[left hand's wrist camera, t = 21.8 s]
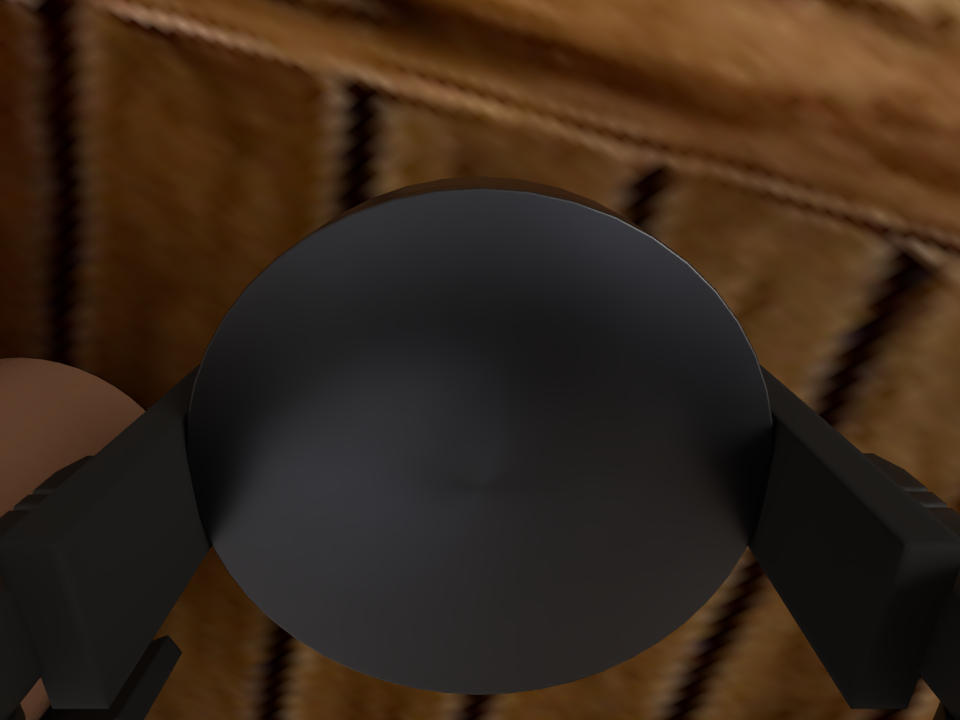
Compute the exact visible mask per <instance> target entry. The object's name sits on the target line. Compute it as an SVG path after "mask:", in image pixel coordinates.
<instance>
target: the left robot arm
mask: <svg viewBox="0 0 960 720" xmlns="http://www.w3.org/2000/svg"><path fill="white" fill-rule="evenodd" d="M200 365H201V364H200ZM200 365H198V366H197V367H196V368H195V369H194V370H193V371H191V372H190V373H189V374H188V375H187V376H186V377H185V378H183V379H182V380H181V381H180V382H179V383H178V384H176V385H175V386H174V387H173V388H172V389H171V390H170V391H168V392H167V393H166V394H165V395H164V396H163V397H161V398H160V399H159V400H158V401H157V402H156V403H155V404H153V405H152V406H151V407H150V408H149V409H148V410H146V411H145V412H144V413H143V414H142V415H141V416H140V417H138V418H137V419H136V420H135V421H134V422H133V423H131V424H130V425H129V426H128V427H127V428H126V429H124V430H123V431H122V432H121V433H120V434H119V435H118V436H116V437H115V438H114V439H113V440H112V441H111V442H109V443H108V444H107V445H106V446H105V447H104V448H103V449H101V450H100V451H99V452H98V453H97V454H96V455H94V456H85V457H83V458H82V459H80V460H78V461H76V462H74V463H72V464H70V465H68V466H66V467H64V468H62V469H60V470H58V471H56V472H55V473H54V474H52V475H51V476H50V477H49V478H48V479H46V480H45V481H44V482H43V483H42V484H40V485H39V486H38V487H37V488H36V489H34V490H33V494H28V495H27V496H26V497H25V498H23V499H22V500H21V501H20V502H19V503H17V504H16V505H15V506H14V509H13V511H8V512H6V513H5V514H4V515H3V516H2V517H0V720H26V717H25V713H24V711H23V708H22V706H21V704H20V703H21V702H22V700H23V699H24V698H25V696H26V695H27V694H28V693H29V691H30V690H31V689H32V688H33V686H34V685H35V684H36V683H37V681H38V680H39V679H40V678H41V680H42V682H43V685H44V688H45V690H46V693H47V695H48V698H49V701H50V703H51V706H52V709H109V707H110V706H111V704H112V702H113V701H114V699H115V698H116V696H117V695H118V693H119V691H120V690H121V688H122V687H123V685H124V684H125V682H126V680H127V679H128V677H129V676H130V674H131V672H132V671H133V669H134V668H135V666H136V665H137V663H138V661H139V660H140V658H141V657H142V655H143V653H144V652H145V650H146V649H147V647H148V646H149V644H150V642H151V641H152V639H153V638H154V636H155V634H156V633H157V631H158V630H159V628H160V627H161V625H162V623H163V622H164V620H165V619H166V617H167V616H168V614H169V612H170V611H171V609H172V608H173V606H174V604H175V603H176V601H177V600H178V598H179V597H180V595H181V593H182V592H183V590H184V589H185V587H186V585H187V584H188V582H189V581H190V579H191V578H192V576H193V574H194V573H195V571H196V570H197V568H198V566H199V565H200V563H201V562H202V560H203V559H204V557H205V555H206V554H207V552H208V551H209V549H210V548H211V546H212V544H211V542H210V539H209V537H208V535H207V532H206V530H205V528H204V526H203V523H202V521H201V519H200V517H199V513H198V508H197V504H196V500H195V495H194V491H193V487H192V482H191V477H190V471H189V466H188V460H187V418H188V412H189V407H190V402H191V396H192V391H193V385H194V382H195V379H196V376H197V373H198V370H199V368H200ZM759 365H760V364H759ZM760 368H761V371H762V374H763V377H764V380H765V383H766V386H767V390H768V396H769V402H770V408H771V415H772V421H773V459H772V464H771V469H770V474H769V479H768V484H767V489H766V493H765V498H764V502H763V506H762V511H761V515H760V518H759V521H758V523H757V526H756V528H755V530H754V532H753V534H752V536H751V538H750V541H749V543H748V547H749V548H750V550H751V551H752V553H753V554H754V556H755V558H756V559H757V561H758V562H759V564H760V566H761V567H762V569H763V570H764V572H765V573H766V575H767V577H768V578H769V580H770V581H771V583H772V584H773V586H774V588H775V589H776V591H777V592H778V594H779V596H780V597H781V599H782V600H783V602H784V603H785V605H786V607H787V608H788V610H789V611H790V613H791V615H792V616H793V618H794V619H795V621H796V622H797V624H798V626H799V627H800V629H801V630H802V632H803V634H804V635H805V637H806V638H807V640H808V641H809V643H810V645H811V646H812V648H813V649H814V651H815V652H816V654H817V656H818V657H819V659H820V660H821V662H822V664H823V665H824V667H825V668H826V670H827V671H828V673H829V675H830V676H831V678H832V679H833V681H834V683H835V684H836V686H837V687H838V689H839V690H840V692H841V694H842V695H843V697H844V698H845V700H846V702H847V703H848V705H849V706H850V708H851V709H907V707H908V705H909V702H910V699H911V697H912V694H913V691H914V689H915V686H916V684H917V681H918V678H919V676H921V677H922V678H923V680H924V681H925V682H926V683H927V685H928V686H929V687H930V689H931V690H932V691H933V692H934V694H935V695H936V696H937V697H938V699H939V700H940V704H939V706H938V708H937V711H936V713H935V716H934V718H933V720H960V515H959V514H958V513H957V512H956V511H954V510H953V509H952V508H947V506H946V505H947V504H946V503H945V502H943V501H942V500H941V499H940V498H938V497H937V496H936V495H935V494H934V493H932V492H928V491H927V488H926V487H925V486H924V485H923V484H921V483H920V482H919V481H918V480H916V479H915V478H914V477H913V476H912V475H910V474H909V473H908V472H907V471H905V470H904V469H902V468H900V467H898V466H896V465H894V464H893V463H891V462H889V461H887V460H885V459H883V458H881V457H879V456H877V455H875V454H863V453H862V452H860V451H859V450H858V449H857V448H856V447H855V446H854V445H852V444H851V443H850V442H849V441H848V440H847V439H845V438H844V437H843V436H842V435H841V434H840V433H839V432H837V431H836V430H835V429H834V428H833V427H832V426H830V425H829V424H828V423H827V422H826V421H825V420H824V419H822V418H821V417H820V416H819V415H818V414H817V413H815V412H814V411H813V410H812V409H811V408H810V407H809V406H807V405H806V404H805V403H804V402H803V401H802V400H800V399H799V398H798V397H797V396H796V395H795V394H794V393H792V392H791V391H790V390H789V389H788V388H787V387H785V386H784V385H783V384H782V383H781V382H780V381H779V380H777V379H776V378H775V377H774V376H773V375H772V374H770V373H769V372H768V371H767V370H766V369H765V368H764V367H762V366H761V365H760Z"/></svg>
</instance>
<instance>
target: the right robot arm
mask: <svg viewBox="0 0 960 720" xmlns="http://www.w3.org/2000/svg"><path fill="white" fill-rule="evenodd" d="M181 654H182V651H181V650H180V649H179V648H178V646H177V645H176V644H175V643H174V642H173V640H172V639H171V638H170V637H169V636H168V635H167V636H164V637H162V638H159V639H156V640H154V641H151V642H150V644H149V646H148V647H147V649H146V650H145V652H144V653H143V655H142V657H141V658H140V660H139V661H138V663H137V665H136V666H135V668H134V669H133V671H132V672H131V674H130V676H129V677H128V679H127V680H126V682H125V684H124V685H123V687H122V688H121V690H120V691H119V693H118V695H117V696H116V698H115V699H114V701H113V702H112V704H111V706H110V707H109V709H52V706H50V707H49V708H48V710H47V711H46V712H45V714H44V715H43V716H42V718H41V719H40V720H144V719H145V717H146V715H147V713H148V712H149V710H150V708H151V706H152V705H153V703H154V701H155V699H156V698H157V696H158V694H159V692H160V691H161V689H162V687H163V685H164V684H165V682H166V680H167V678H168V677H169V675H170V673H171V671H172V670H173V668H174V666H175V664H176V663H177V661H178V659H179V657H180V655H181Z"/></svg>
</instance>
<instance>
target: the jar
mask: <svg viewBox="0 0 960 720" xmlns="http://www.w3.org/2000/svg"><path fill="white" fill-rule="evenodd" d="M144 412H145V410H144V409H143V408H142V407H141V406H140V405H138V404H137V403H136V402H135V401H134V400H133V399H132V398H130V397H129V396H128V395H126V394H125V393H123V392H122V391H121V390H119V389H118V388H116V387H115V386H113V385H111V384H110V383H108V382H106V381H104V380H102V379H101V378H99V377H97V376H95V375H92V374H90V373H88V372H85V371H83V370H81V369H78V368H75V367H72V366H69V365H65V364H62V363H58V362H53V361H48V360H43V359H32V358H4V359H0V517H2V516H3V515H4V514H5V513H6V512H8V511H13V509H14V506H15V505H16V504H17V503H19V502H20V501H21V500H22V499H23V498H25V497H26V496H27V495H28V494H33V490H34V489H36V488H37V487H38V486H39V485H40V484H42V483H43V482H44V481H45V480H46V479H48V478H49V477H50V476H51V475H52V474H54V473H55V472H56V471H58V470H60V469H62V468H64V467H66V466H68V465H70V464H72V463H74V462H76V461H78V460H80V459H82V458H83V457H85V456H94V455H96V454H97V453H98V452H99V451H100V450H101V449H103V448H104V447H105V446H106V445H107V444H108V443H109V442H111V441H112V440H113V439H114V438H115V437H116V436H118V435H119V434H120V433H121V432H122V431H123V430H124V429H126V428H127V427H128V426H129V425H130V424H131V423H133V422H134V421H135V420H136V419H137V418H138V417H140V416H141V415H142V414H143V413H144ZM20 704H21V706H22V708H23V711H24V713H25V717H26V720H40V719H41V718H42V716H43V715H44V714H45V712H46V711H47V710H48V708H49V707H50V706H51V703H50V701H49V698H48V695H47V693H46V690H45V688H44V685H43V682H42V680H41V678H40V679H39V680H38V681H37V683H36V684H35V685H34V686H33V688H32V689H31V690H30V691H29V693H28V694H27V695H26V696H25V698H24V699H23V700H22V702H21V703H20Z"/></svg>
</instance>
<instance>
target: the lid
mask: <svg viewBox="0 0 960 720" xmlns="http://www.w3.org/2000/svg"><path fill="white" fill-rule="evenodd" d="M772 459H773V421H772V415H771V408H770V402H769V396H768V390H767V386H766V383H765V380H764V377H763V374H762V371H761V368H760V365H759V362H758V359H757V356H756V353H755V351H754V349H753V347H752V345H751V344H750V342H749V340H748V338H747V336H746V334H745V332H744V330H743V328H742V326H741V324H740V322H739V321H738V319H737V318H736V316H735V315H734V314H733V312H732V311H731V310H730V308H729V307H728V306H727V304H726V303H725V301H724V300H723V299H722V297H721V296H720V295H719V293H718V292H717V290H716V289H715V288H714V287H713V286H712V285H711V284H710V283H709V282H708V281H707V280H706V279H705V278H704V277H703V276H702V275H701V274H700V273H699V272H698V271H697V270H696V269H695V268H694V267H693V266H692V265H691V264H690V263H689V262H688V261H686V260H685V259H684V258H682V257H681V256H680V255H678V254H677V253H676V252H674V251H673V250H672V249H670V248H669V247H668V246H666V245H665V244H664V243H662V242H661V241H659V240H658V239H657V238H655V237H654V236H653V235H651V234H650V233H648V232H646V231H645V230H643V229H642V228H640V227H639V226H637V225H636V224H634V223H633V222H631V221H630V220H628V219H627V218H625V217H623V216H621V215H619V214H617V213H616V212H614V211H612V210H610V209H608V208H606V207H604V206H603V205H601V204H599V203H597V202H595V201H593V200H590V199H587V198H585V197H582V196H579V195H577V194H574V193H571V192H568V191H566V190H563V189H560V188H557V187H552V186H548V185H543V184H539V183H534V182H529V181H525V180H519V179H506V178H493V177H469V178H452V179H441V180H436V181H431V182H426V183H421V184H416V185H411V186H406V187H403V188H400V189H398V190H395V191H392V192H389V193H386V194H383V195H380V196H377V197H374V198H372V199H369V200H367V201H365V202H363V203H362V204H360V205H358V206H356V207H354V208H352V209H350V210H348V211H346V212H344V213H342V214H340V215H338V216H337V217H335V218H333V219H332V220H330V221H329V222H327V223H326V224H324V225H323V226H321V227H320V228H318V229H317V230H315V231H314V232H312V233H311V234H309V235H308V236H306V237H305V238H304V239H302V240H301V241H299V242H298V243H297V244H295V245H294V246H292V247H291V248H290V249H288V250H287V251H285V252H284V253H283V254H281V255H280V256H278V257H277V258H276V259H275V260H274V261H273V262H272V263H271V264H270V265H269V266H267V267H266V268H265V269H264V270H263V271H262V272H261V273H260V274H259V275H258V276H257V277H256V278H255V279H254V280H253V281H252V282H251V283H250V284H249V285H248V286H247V287H246V288H245V290H244V291H243V292H242V294H241V295H240V296H239V297H238V299H237V300H236V301H235V303H234V304H233V305H232V307H231V308H230V309H229V310H228V312H227V313H226V314H225V316H224V317H223V319H222V321H221V323H220V325H219V326H218V328H217V330H216V332H215V334H214V336H213V337H212V339H211V341H210V343H209V345H208V347H207V348H206V351H205V353H204V356H203V359H202V362H201V365H200V368H199V370H198V373H197V376H196V379H195V382H194V385H193V391H192V396H191V402H190V407H189V412H188V418H187V460H188V466H189V471H190V477H191V482H192V487H193V491H194V495H195V500H196V504H197V508H198V513H199V517H200V519H201V521H202V523H203V526H204V528H205V530H206V532H207V535H208V537H209V539H210V542H211V544H212V546H213V548H214V549H215V551H216V553H217V554H218V556H219V557H220V559H221V561H222V562H223V564H224V566H225V567H226V569H227V570H228V572H229V574H230V575H231V576H232V577H233V579H234V580H235V581H236V582H237V584H238V585H239V586H240V587H241V589H242V590H243V591H244V592H245V593H246V595H247V596H248V597H249V598H250V599H251V600H252V601H253V602H254V603H255V604H256V605H257V606H258V607H259V608H260V609H261V610H262V611H263V612H264V613H265V614H266V615H267V616H268V617H269V618H270V619H271V620H272V621H274V622H275V623H276V624H278V625H279V626H280V627H281V628H283V629H284V630H285V631H287V632H288V633H289V634H291V635H292V636H293V637H294V638H296V639H297V640H299V641H300V642H302V643H304V644H305V645H307V646H309V647H310V648H312V649H313V650H315V651H317V652H318V653H320V654H322V655H323V656H325V657H327V658H329V659H331V660H334V661H336V662H338V663H340V664H342V665H344V666H346V667H348V668H350V669H353V670H355V671H358V672H361V673H364V674H367V675H369V676H372V677H375V678H378V679H381V680H383V681H388V682H392V683H396V684H400V685H404V686H408V687H412V688H417V689H423V690H430V691H437V692H444V693H459V694H477V695H478V694H503V693H515V692H522V691H530V690H537V689H543V688H547V687H552V686H556V685H560V684H564V683H569V682H573V681H576V680H579V679H582V678H585V677H587V676H590V675H593V674H596V673H599V672H602V671H604V670H607V669H609V668H611V667H613V666H615V665H618V664H620V663H622V662H624V661H626V660H629V659H631V658H633V657H634V656H636V655H638V654H639V653H641V652H643V651H645V650H646V649H648V648H650V647H651V646H653V645H655V644H656V643H658V642H660V641H661V640H662V639H664V638H665V637H666V636H668V635H669V634H670V633H672V632H673V631H674V630H676V629H677V628H678V627H680V626H681V625H682V624H684V623H685V622H686V621H687V620H688V619H689V618H690V617H691V616H692V615H693V614H695V613H696V612H697V611H698V610H699V609H700V608H701V607H702V606H703V605H704V604H705V603H706V602H707V601H708V600H709V599H710V598H711V597H712V595H713V594H714V593H715V592H716V591H717V589H718V588H719V587H720V586H721V585H722V583H723V582H724V581H725V580H726V579H727V577H728V576H729V574H730V573H731V571H732V570H733V568H734V567H735V565H736V564H737V562H738V560H739V559H740V557H741V556H742V554H743V553H744V551H745V549H746V547H747V545H748V543H749V541H750V538H751V536H752V534H753V532H754V530H755V528H756V526H757V523H758V521H759V518H760V515H761V511H762V506H763V502H764V498H765V493H766V489H767V484H768V479H769V474H770V469H771V464H772Z"/></svg>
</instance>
